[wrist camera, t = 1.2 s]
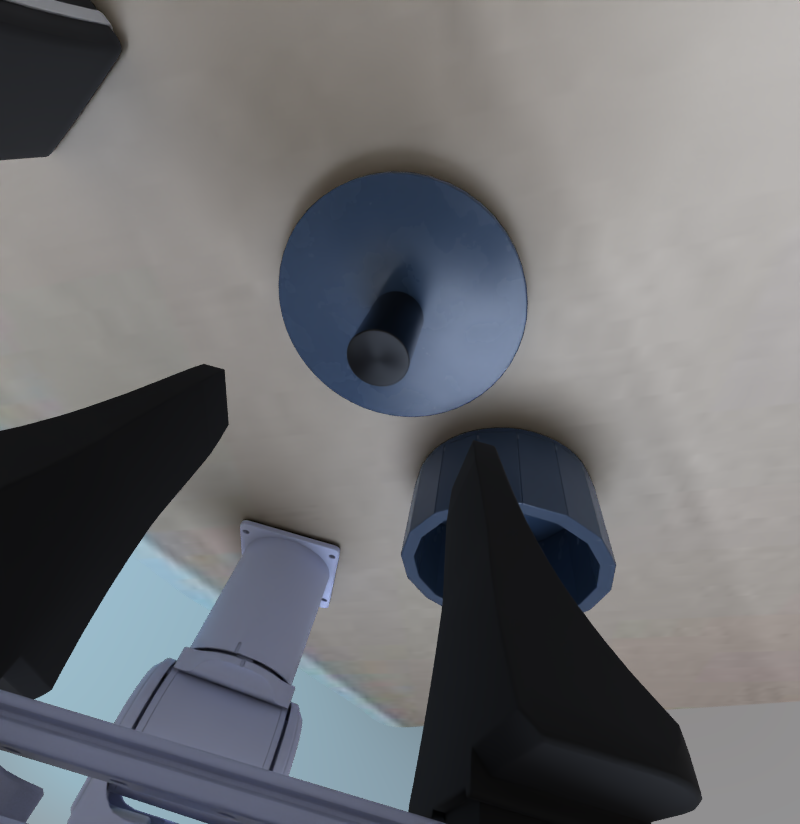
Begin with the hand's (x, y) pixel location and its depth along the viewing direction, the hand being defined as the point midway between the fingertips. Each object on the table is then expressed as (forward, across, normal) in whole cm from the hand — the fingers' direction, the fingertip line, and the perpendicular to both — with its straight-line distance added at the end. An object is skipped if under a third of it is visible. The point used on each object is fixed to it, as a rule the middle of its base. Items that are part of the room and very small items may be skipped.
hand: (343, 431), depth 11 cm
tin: (+9, -8, +10) cm, 16 cm away
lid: (+9, 0, 0) cm, 9 cm away
